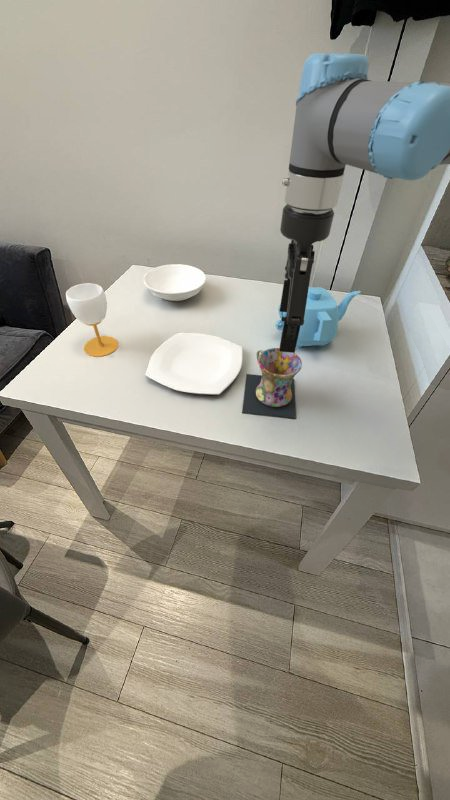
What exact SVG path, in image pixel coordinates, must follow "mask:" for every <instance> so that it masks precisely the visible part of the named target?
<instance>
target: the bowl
mask: <svg viewBox="0 0 450 800" xmlns="http://www.w3.org/2000/svg"><path fill="white" fill-rule="evenodd" d="M206 281H207V277H206V274H205V272H204V271H203V270H201V269H199V268H197V267H195V266H192V265H190V264H189V265H187V264H180V263H173V264H171V263H170V264H163V265H160V266H156V267H154V268H151V269H150V270H148V271H147V272H146V273H145V274H144V276H143V281H142V283H143V284H144V285H145V286H146V287H147V288H148V289H149V292H150V293H151V294H152V295H154V296H155V297H158V298H159V299H163V300H165V301H169V302H170V301H171V302H181V301H185V300H188V299H190V298H192V297H195V296H196V295H197V294H199V293H200V292H201V290H202V288H203V286H204V285H205V283H206Z"/></svg>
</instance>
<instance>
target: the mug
mask: <svg viewBox="0 0 450 800" xmlns="http://www.w3.org/2000/svg"><path fill="white" fill-rule="evenodd" d="M279 348H280V347H272V348H268V349H264V350H262V349H259V350H257V351H256V360H257V361H256V362H257V365H258V366H259V369H260V373H261V375H262V378H261V382H260V384H259V385H258V386H257V388H256V396H257V398H258V399H259V400H260V401H261V402H262V403H263V404H265V405H268V406H271V407H281V406H284V405H286V404H288V403H289V402H290V400H291V399H292V391H291V382H292V380H293V379H295V377H296V375H297V374H299V372H300V371H301V370H302V368H303V362H302V359H301V358H300V356H299V355H298V354H297V353H296V352H295V353H291V352H280V351H279Z"/></svg>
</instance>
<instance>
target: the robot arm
mask: <svg viewBox="0 0 450 800" xmlns="http://www.w3.org/2000/svg"><path fill="white" fill-rule="evenodd" d="M369 67H370V59H369V56H367V55H366V54H362V53H361V54H360V53H337V52H335V53H327V52H321V53H312V54H310V55H309V56H308V57H307V58H306V60H305V62H304V63H303V66H302V72H301V77H300V82H299V87H298V94H297V98H296V100H295V115H294V123H293V129H292V130H293V131H292V138H291V148H290V154H289V161H288V162H289V164H288V173H287V176H288V177H284V178H283V179H282V181H281V185H282V186H283V187H286V189H285V196H284V203H286V205H284V207H283V208H282V214H281V221H280V229H279V230H280V233H281V235H282V236H283V237H285V238H286V239H288V240H291V241H290V242H289V243H288V247H287V258H286V264H285V266H284V270H285V273H284V278H285V279H284V280H283V286H282V291H281V298H280V304H279V305H280V312H287V316H286V317H282V319H281V318H280V320H281V321H284V326H283V330H281V331H282V332H281V337H280V342H279V347H278V348H279V351H280V352H291V353H295V354H296V349H297V348H296V344H297V340H298V335H299V331H300V326H303V324H304V316H305V309H306V302H307V295H308V289H309V287H310V281H311V275H312V270H313V264H314V263H315V252H316V251H315V250H314V244H315V243H317V242H323V241H325V240H326V239H328V237H329V236H330V233H331V230H332V225H333V221H334V217H335V211H334V208H335V207H337V204H338V200H339V197H340V192H341V188H342V184H343V179H344V176H345V170H346V166H350V167H352V168H357V169H361V170H363V171H367V172H371V173H374V174H377V175H379V176H383V178H385V179H390V180H392V179H400V180H404V181H410V182H411V181H417V180H421V179H423V178H425V177H426V176H428V174H429V173H430V171H432V170H435V169H436V168H437V167H438V166H442V165H450V82H437V81H425V80H422V81H393V80H392V81H389V80H388V81H387V80H386V81H384V80H381V81H380V80H370V79H369V77H368V72H369V69H370V68H369Z"/></svg>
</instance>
